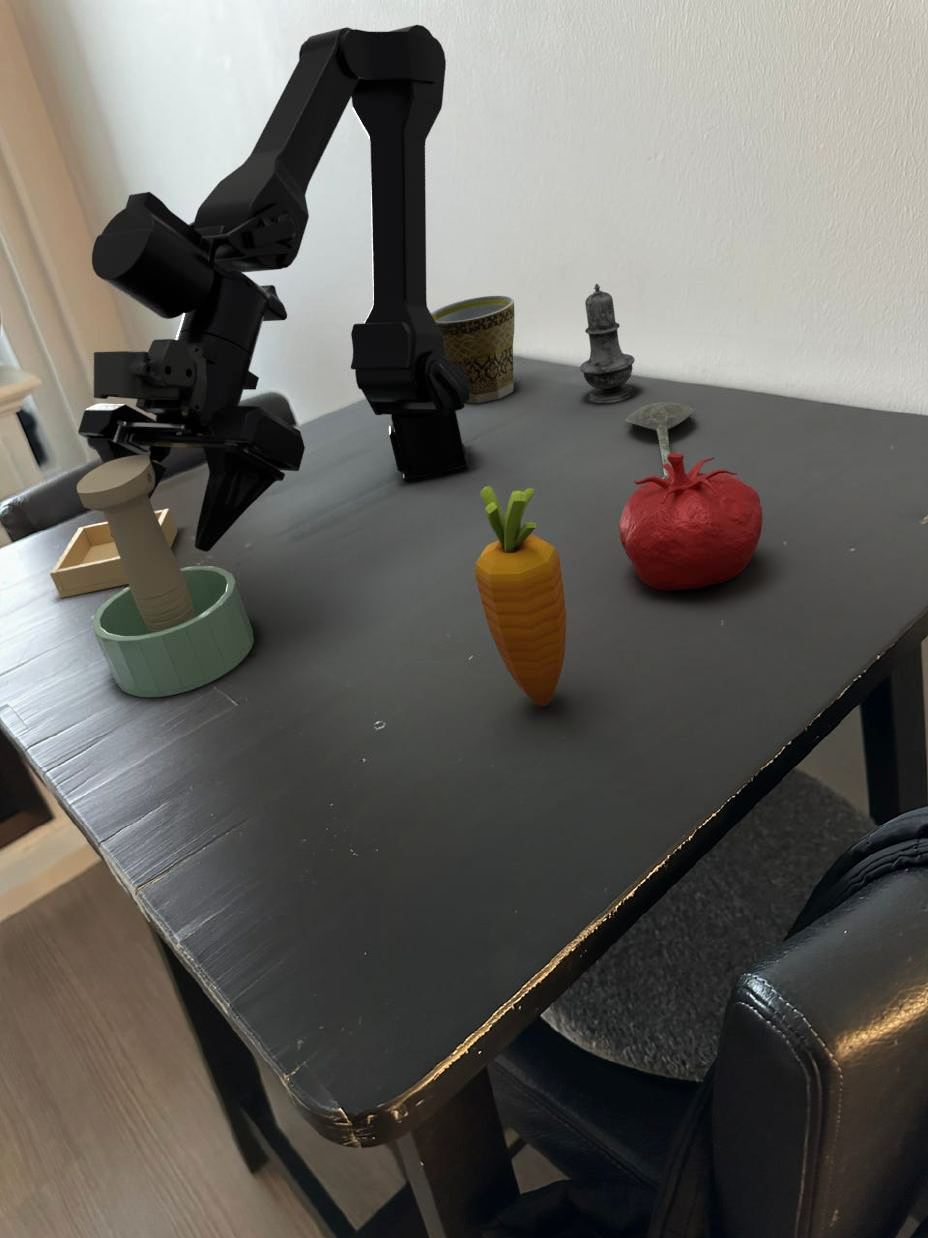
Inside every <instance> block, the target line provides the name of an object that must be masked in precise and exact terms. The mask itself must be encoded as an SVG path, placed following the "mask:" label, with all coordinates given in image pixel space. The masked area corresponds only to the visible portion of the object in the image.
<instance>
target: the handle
mask: <svg viewBox="0 0 928 1238" xmlns="http://www.w3.org/2000/svg"><path fill="white" fill-rule="evenodd" d="M154 486H155V473H154V470H153V467H152V464H151V462H150V459H149V457H148V455H135V456H128V457H123V458H119V459H116V460H112V461H109V462H107V463H105V464H104V463H102V464H101V465H99V466H98V467H96V468H94V469H92V470H90V471H89V472H88V473H86V474H85V475H84V476H83V477H82V478H80V480H79V481H78V483H77V484H76V491H77V492H76V493H77V495H78V496H79V499H80V501H81V504H82V506H83V507H84V508H85V509H88V510H91V511H97V512H102V514H103V515H104V517H105V520H106V522H108V525H109V528H110V531H111V534H112V537H113V539H114V542H115V545H116V548H117V551H118V554H119V557H120V560H121V563H122V566H123V569H124V572H125V575H126V578H127V581H128V584H127V585H128V587H130V590H131V593H132V595H133V598H134V600H135V603H136V605H137V607H138V610H139V612H140V614H141V616H142V618H143V620H144V622H145V624H146V626H147V628H148V630H149V632H150V634H151V633H156V632H160V631H164V630H167V629H170V628H172V627H175V626H178V625H181V624H184V623H186V622H187V621H189V620H191V619H193V618H195V617H196V613H195V610H194V606H193V603H192V600H191V596H190V594H189V590H188V588H187V586H186V582H185V579H184V577H183V574H182V572H181V570H180V569H181V568H180V566H179V563H178V562H177V559H176V557H175V555H174V552H173V551H172V547H171V548H170V546H169V544H168V542H167V539H166V537H165V535H164V533H163V530H162V528H161V526H160V524H159V521H158V519H157V517H156V515H155V512H154V511H155V510H154V508H153V505H152V502H151V498H150V499H149V497H148V494H149V493H150V492H151V491H152V489H153V488H154Z"/></svg>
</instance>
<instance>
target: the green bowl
mask: <svg viewBox="0 0 928 1238" xmlns="http://www.w3.org/2000/svg"><path fill="white" fill-rule="evenodd" d="M180 570H181V572H182V574H183V577H184V579H185V582H186V586H187V588H188V590H189V594H190V596H191V600H192V603H193V606H194V610H195V613H196V617H195V618H193V619H191V620H189V621H187V622H186V623H184V624H181V625H178V626H175V627H172V628H170V629H167V630H164V631H160V632H156V633H151V634H150V632H149V630H148V628H147V626H146V624H145V622H144V620H143V618H142V616H141V614H140V612H139V610H138V607H137V605H136V603H135V600H134V598H133V595H132V593H131V590H130V587H129V586H127V587H126V588H124V589H122V590H121V591H119V592H118V593H116V594H115V595H113V596H111V597H110V598H108V600H106V602H104V603H103V604H102V605H101V606H100V607H99V609H97V610H96V612H95V615H94V616H93V619H92V620H91V624H92V631H93V633H94V636H95V638H96V641H97V642H98V645H99V647H100V650H101V651H102V654H103V656H104V658H105V660H106V663H107V665H108V668H109V670H110V672H111V675H112V677H113V679H114V681H115V682H116V684H117V685H118V687H119V688H120V690H121V691H123V692H124V693H126V694H128V695H130V696H133V697H139V698H162V697H169V696H173V695H174V696H175V695H179V694H183V693H185V692H189V691H193V690H195V689H198V688H201V687H203V686H205V685H207V684H210V683H212V682H213V681H216V680H219V678H221V677H223V676H225V675H226V674H228V673H229V672H231V671H232V670H233V669H235V668H236V667H237V666H238V665H239V664H240V663H242V661H243V660H244V659H245V658H246V657H247V656H248V654H249V653H250V651H251V650H252V648H253V645H254V642H255V635H254V630H253V628H252V625H251V621H250V619H249V616H248V613H247V610H246V608H245V607H246V606H245V605H244V602H243V599H242V595H241V593H240V590H239V588H238V584H237V582H236V579H235V577H234V575H233V573H231V572H229V571H228V570H226V569H224V568H222V567H217V566H209V565H200V566H199V565H198V566H187V567H182V568H180Z"/></svg>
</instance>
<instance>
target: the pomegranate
mask: <svg viewBox="0 0 928 1238" xmlns="http://www.w3.org/2000/svg"><path fill="white" fill-rule="evenodd" d="M667 459H668V461H669V462H670V464H671V466H672V468H671V466H670V465H669V464H668V463H666V464H663V463H662V468H663V467H664V468H665V469H666V471H667V473H668V475H669V478H666V479H663V477H662V478H661V477H659V476H656V475H651V476H648V477H645V478H642V479H639V480H633V482H634V484H636V485H641V486H640V487H638V488H637V489H635V491H634V492H633V493H632V494H631V495H630V497H629V498H628V500H627V502H626V503H625V505H624V508H623V510H622V513H621V517H620V520H619V524H618V533H619V538H620V542H621V545H622V547H623V550H624V552H625V555H626V556H627V557H628V559H629V560H630V561H631V564H632V566H633V569H634V570H635V573H636V575H637V577H638V578H639V579H640V581H642V582H644V584H645V585H647V586H649V587H650V588H653V589H655V590H660V591H666V592H667V591H681V590H682V591H683V590H684V591H685V590H693V589H700V588H704V587H709V586H712V585H718V584H721V583H725V582H727V581H730V580H731V579H733V578H735V577H736V576H738V575H740V574H741V573H742V572H743V571H744V569H746V568H747V566H748V564H749V562H750V561H751V560H752V557H753V555H754V553H755V551H756V549H757V547H758V544H759V540H760V538H761V534H762V527H763V507H762V505H761V499H760V496H759V493H758V491H757V490H756V489H754V488H753V487H752V486H750V485H749V484H746V483H745V482H744V481H742V480H741V479H740V478H738V477H737V476H736V475H738V472H732V471H729V470H726V469H715V470H712V471H711V472H700V471H701V468H702V466H703V465H704V463H707V462H709V461H713V460H715V459H716V458H715V457H711V458H705V459H703V460H700V461H698V462H697V463H696V465H694V466H693V467H692V468H691V469H690V470H689V471H688V473H686V469H685V465H684V454H683V453H676V452H672V453H671V452H670V454H668V455H667Z"/></svg>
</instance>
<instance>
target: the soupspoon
mask: <svg viewBox="0 0 928 1238" xmlns="http://www.w3.org/2000/svg"><path fill="white" fill-rule="evenodd" d="M694 413H695V409H694V408H692V407H690V406H688V405H686V404H683V403H680V402H673V401H659V402H653V403H650V404H645V405H644V406H642V407H640V408H638V409H636V410H634V411H633V412H632V413H631V414H630V415H628V416H627V418H626V419H625V421H626V422H627V423H630V424H632V425H636V426H639V427H642V428H645V429H649V430H651V431H656V434H657V438H658V443H659V444H658V445H659V450H660V454H661V460H662V465H663V464H666V463H668V464H669V465H670V466H671V468H672V465H671V464H670V462H669V461H668V459H667V455H668V454H671V450H670V443H669V430H670V429H672V428H674V427H677V426H678V425H679V424H680V423H682V422H684V421H685V420H687V419H688V418H689V417H691V416H693V414H694ZM662 469H663V475H664V476H663V477H662V479H666V478H669V475H668V473H667V471H666V469H665V468H664V467H663V466H662ZM672 469H673V468H672Z"/></svg>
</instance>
